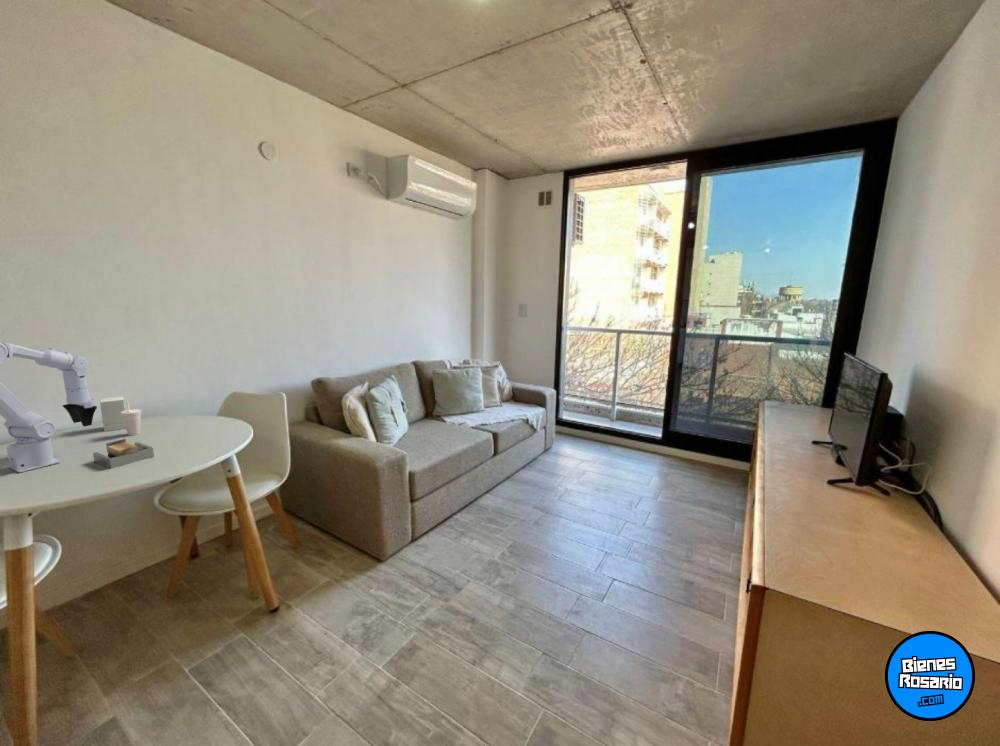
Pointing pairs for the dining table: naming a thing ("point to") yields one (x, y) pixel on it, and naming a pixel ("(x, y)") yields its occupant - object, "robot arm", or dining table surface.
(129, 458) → the dock
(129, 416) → the smoothie
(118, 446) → the trolley
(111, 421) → the supplement box
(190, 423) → the dining table surface
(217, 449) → the dining table surface
